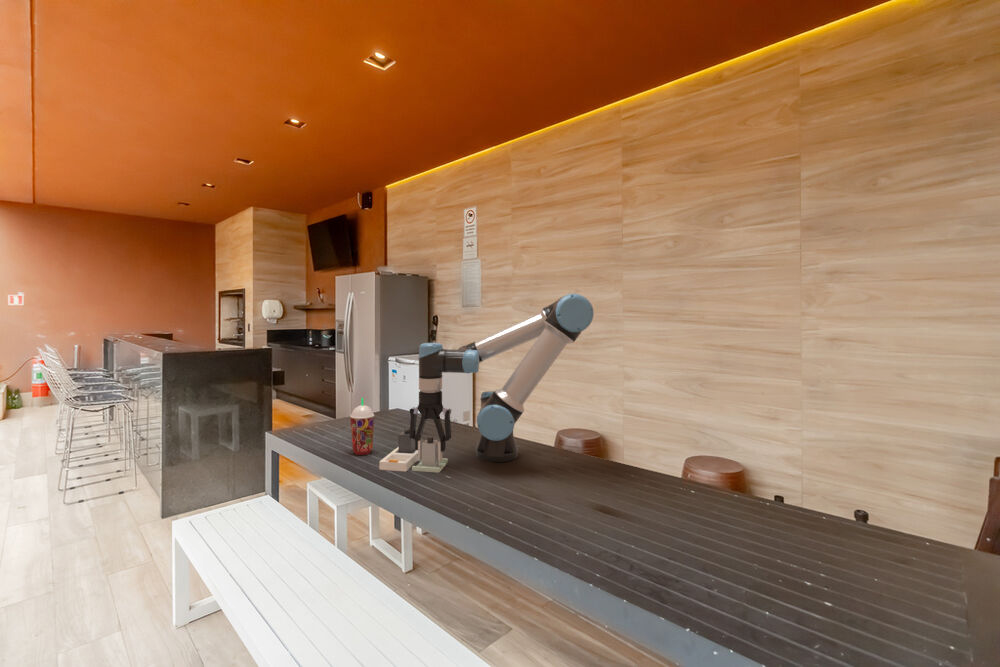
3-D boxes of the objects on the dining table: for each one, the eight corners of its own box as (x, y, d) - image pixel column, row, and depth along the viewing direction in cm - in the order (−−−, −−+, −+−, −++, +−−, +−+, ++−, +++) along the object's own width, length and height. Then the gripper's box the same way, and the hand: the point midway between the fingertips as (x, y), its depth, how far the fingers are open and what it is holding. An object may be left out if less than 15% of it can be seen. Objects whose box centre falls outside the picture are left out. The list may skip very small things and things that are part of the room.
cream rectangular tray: (423, 455, 159) (423, 426, 158) (406, 472, 142) (406, 439, 141) (399, 454, 160) (399, 425, 159) (379, 470, 143) (379, 438, 143)
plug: (438, 464, 149) (439, 436, 148) (434, 468, 144) (434, 439, 144) (425, 463, 149) (425, 435, 149) (421, 468, 145) (421, 439, 144)
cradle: (447, 463, 151) (447, 458, 151) (439, 473, 141) (439, 468, 141) (422, 461, 152) (422, 456, 152) (411, 471, 143) (411, 466, 142)
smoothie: (370, 456, 157) (370, 400, 156) (346, 456, 157) (346, 399, 156) (377, 449, 165) (377, 395, 164) (355, 449, 165) (354, 395, 164)
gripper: (461, 389, 148) (461, 458, 149) (406, 387, 151) (406, 454, 152) (456, 393, 140) (455, 466, 141) (398, 391, 143) (398, 462, 144)
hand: (430, 460), depth 147 cm, fingers open, 6 cm apart
